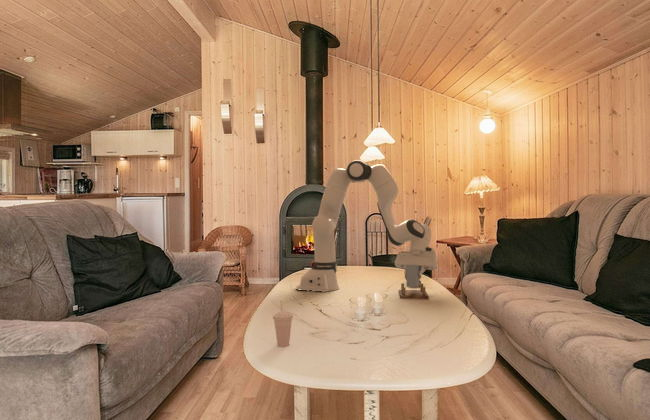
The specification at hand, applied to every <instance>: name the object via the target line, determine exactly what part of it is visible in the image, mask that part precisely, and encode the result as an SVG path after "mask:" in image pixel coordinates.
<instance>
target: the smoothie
mask: <svg viewBox="0 0 650 420" xmlns="http://www.w3.org/2000/svg"><path fill="white" fill-rule="evenodd" d="M293 318H294V316H293V313H291V312H285V311H284V312H283V300H280V312H277V313H274V314H273V315H272V319H273V321H274V329H275V336H276V343H277V344H276V345H277V346H278V347H280V348H283V347H284V348H285V347H288V346H290V340H291V333H292V332H291V330H292V321H293V320H292V319H293Z"/></svg>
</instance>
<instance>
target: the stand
mask: <svg viewBox="0 0 650 420" xmlns="http://www.w3.org/2000/svg"><path fill="white" fill-rule="evenodd" d="M400 287H401V288H400V289H398V296H399V299H422V300H423V299H424V300H427V299H429V297H430V296H429V295H428V292H427V290H426V287H424V283H422V282H421V284H420V287H419V289H406V286H405V283H404V282H401V284H400Z"/></svg>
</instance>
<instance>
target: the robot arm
mask: <svg viewBox="0 0 650 420" xmlns="http://www.w3.org/2000/svg"><path fill="white" fill-rule="evenodd" d="M366 181H367V182H369V183H370V184H371V187H373V189H374V192H375V193H376V196H377V197H376V198H377V204H376V206H377V208H378V212H379V214H380V217H381V220H382V222H383V225H384V227H385V231H386V235H387V238H388V241H389V242H390V243H391V244H392V245H394V246H396V247H401V246H402V245H404V244H405V243H408V242H409V241H410V243H411V244H410V247H409V251H400V252H397V254H396V258H395V260H394V266H395V267H396V268H397V269H404V276H405V275H406V266H407V265H419V266H420V271H418V276H421V277H422V275H423V273H424V272H426V271H436V270H437V266H438V260H437V253H436V251H435V250H436V249H434V248H433V247H430V246H429V245H430V244H431V239H432V229H431V227H430V226H429V225H428V224H426V223H420V222H419V221H417V220H415V219H413V218H410V219H408V220H405V221H403V222H402V223H399V224H397V223H396V221H395V218H394V216H393V213H392V205H393V203H394V201H395V200H396V199H397V197H398V194H399V187H398V184H397V182H396V181H395V179H394V178H393V175H392V174H391V173H390V171H389V170H388V168H386V166H385V165H384V164H374V165H373V166H371V165H370V164H368V163H367V162H365V161H363V160H361V159H355V160H352V161H351V162H349V163H348V165H347V167H346V168H339V167H338V168H335V169H333V170H332V171H331V174H330V175H329V178H328V180H327V183H326V185H325V189H324V191H323V194H322V198H321V199H320V200H321V201H320V206H319V210H318V215H316V216H315V218H314V219H313V221H312V223H311V227H312V237H313V246H314V247H313V248H314V249H313V250H314V252H313V253H314V260H313V261H311V262H310V269H309V270H308V271H306V272H305V273H304V274H303V275H302V276H301V277H300V280H299V281H300V282H299V284H298V285H297V286H296V287H295V289H296V288H297V289H301V290H312V291H311V292H315V291H322V292H321V293H326V292H331V291H336V290H339V288H340V286H339V281H338V276H337V271H338V268H337V267H338V265H337V261H336V260H337V259H336V256H337V255H336V241H335V240H336V239H335V230H336V227H337V226H338V225H337V224H338V222H339V217H340V213H341V210H342V206H343V203H344V201H345V197H346V194H347V191H348V188H349V186H350V184H351V183H364V182H366ZM325 291H326V292H325Z"/></svg>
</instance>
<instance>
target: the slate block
mask: <svg viewBox="0 0 650 420" xmlns="http://www.w3.org/2000/svg"><path fill="white" fill-rule="evenodd" d="M420 270H421V269H420V266H419V265H407V266H406V279H405V281H406V288H418V286H420V281H421V278H420V276H418V271H420Z"/></svg>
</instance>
